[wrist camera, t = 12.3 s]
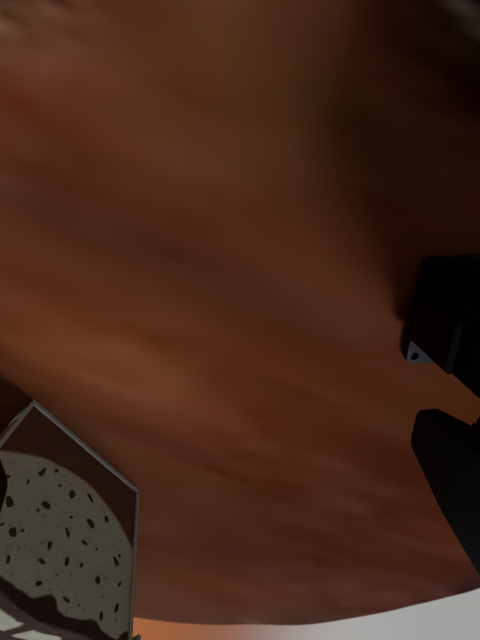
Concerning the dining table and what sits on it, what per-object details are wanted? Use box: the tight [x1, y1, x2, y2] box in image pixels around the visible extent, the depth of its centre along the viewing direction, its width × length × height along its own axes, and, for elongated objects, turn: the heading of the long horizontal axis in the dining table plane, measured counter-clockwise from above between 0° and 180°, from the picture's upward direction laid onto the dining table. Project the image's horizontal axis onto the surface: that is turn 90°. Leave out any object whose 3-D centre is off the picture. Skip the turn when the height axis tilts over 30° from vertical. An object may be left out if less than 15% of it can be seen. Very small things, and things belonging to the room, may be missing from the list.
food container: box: [0, 400, 141, 640], centre depth 20 cm, size 12×6×10 cm, turn 33°
